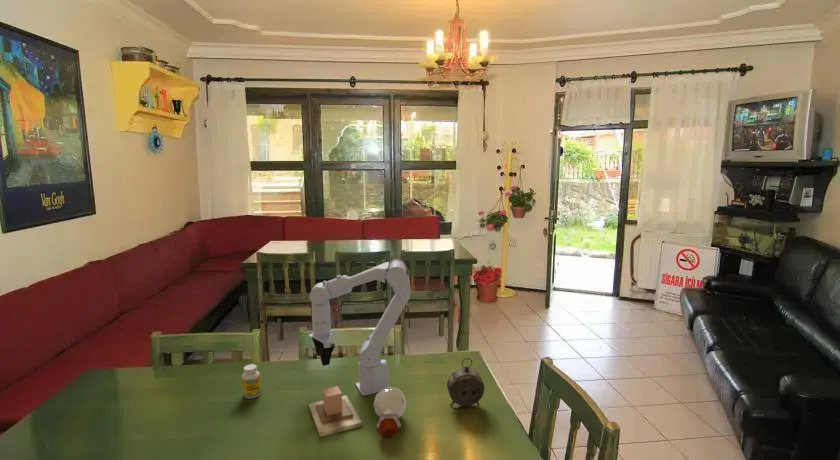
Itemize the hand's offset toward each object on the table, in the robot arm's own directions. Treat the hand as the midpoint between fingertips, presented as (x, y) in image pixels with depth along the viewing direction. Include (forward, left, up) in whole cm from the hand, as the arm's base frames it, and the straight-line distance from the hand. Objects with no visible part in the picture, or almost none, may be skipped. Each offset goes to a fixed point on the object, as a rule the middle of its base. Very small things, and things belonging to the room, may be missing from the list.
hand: (323, 359), depth 152 cm
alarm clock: (-37, +29, -10) cm, 48 cm away
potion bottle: (-13, +27, -10) cm, 32 cm away
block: (+1, +17, -8) cm, 19 cm away
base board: (+1, +17, -10) cm, 20 cm away
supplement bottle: (+22, -6, -10) cm, 25 cm away
